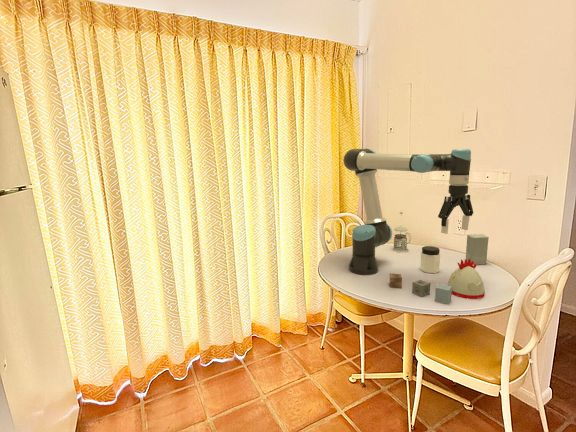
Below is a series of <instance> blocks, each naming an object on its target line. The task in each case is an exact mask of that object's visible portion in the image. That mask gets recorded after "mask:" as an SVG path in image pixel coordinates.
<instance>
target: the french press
mask: <svg viewBox="0 0 576 432" xmlns="http://www.w3.org/2000/svg"><path fill="white" fill-rule="evenodd" d="M399 214H400V215H403V214H404V211H399ZM393 230H394V231H395V232H399V233H397V234H394V237H393V248H392V249H391V251H392V252H395V253H401V254H403V253H407V252H409V250H408V249H407V248H408V247H407V245H408V244H410V243H411V241H412V239H411V237H412V236H411V234H409V232H407V231H408V229H407V227H404V226H397V227H394V228H393ZM402 232H405V234H401V233H402ZM408 234H409V236H408V238H407V235H408ZM408 239H409V240H408Z"/></svg>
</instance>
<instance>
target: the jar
mask: <svg viewBox="0 0 576 432" xmlns="http://www.w3.org/2000/svg"><path fill="white" fill-rule="evenodd" d="M440 252H441V251H440V248H439V247H437V246H431V245H426V246H422V247H421V252H420V263H419V264H420V265H419V270H421V271H422V272H424V273H427V274H436V273H439V272H440V266H441V265H440V263H441V254H440Z"/></svg>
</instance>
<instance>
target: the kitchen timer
mask: <svg viewBox="0 0 576 432" xmlns="http://www.w3.org/2000/svg"><path fill="white" fill-rule="evenodd" d="M473 264H474V261H472V262H471V259H468V262H467V259H466V258H464V260H463V259H460V262H457V266H458V268H456V269H455V270H454V271H453V272H452V273H451V275H450V277H449V279H448V283H447V285H448V286H452V295H453V296H454V297H458V298H461V297H462V298H461V299H467V298H468V299H467V300H480V299H483V298H484V297H485V285H484V280H483V279H482V276H481V275H480V273H479V272H478V271H477V270H476V267H477V266H478V264H476V263H475V264H474V265H473Z"/></svg>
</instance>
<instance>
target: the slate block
mask: <svg viewBox="0 0 576 432" xmlns="http://www.w3.org/2000/svg"><path fill="white" fill-rule="evenodd" d="M434 292H435V293H434V302H436V303H440V304H445V305H449V304H450V303H451V301H452V295H453V294H452V286H448V284H444V283H438V284H437V285H436V287H435V291H434Z"/></svg>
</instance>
